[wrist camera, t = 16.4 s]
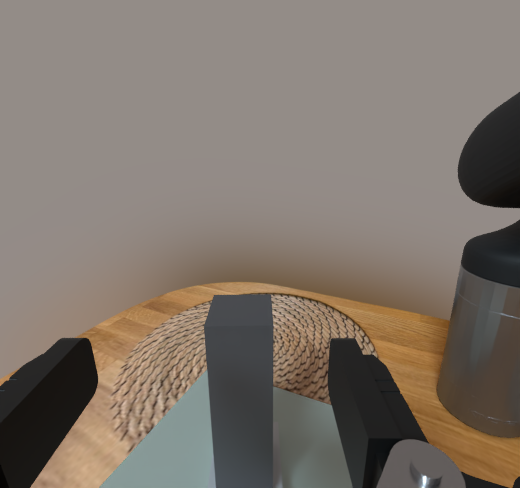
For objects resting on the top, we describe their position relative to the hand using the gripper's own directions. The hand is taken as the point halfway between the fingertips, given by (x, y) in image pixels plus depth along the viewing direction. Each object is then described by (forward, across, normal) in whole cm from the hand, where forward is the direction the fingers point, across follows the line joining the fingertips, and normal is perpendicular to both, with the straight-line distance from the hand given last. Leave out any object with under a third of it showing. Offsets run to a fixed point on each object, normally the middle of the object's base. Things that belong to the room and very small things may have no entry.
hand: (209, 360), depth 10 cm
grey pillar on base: (+10, 0, +21) cm, 23 cm away
